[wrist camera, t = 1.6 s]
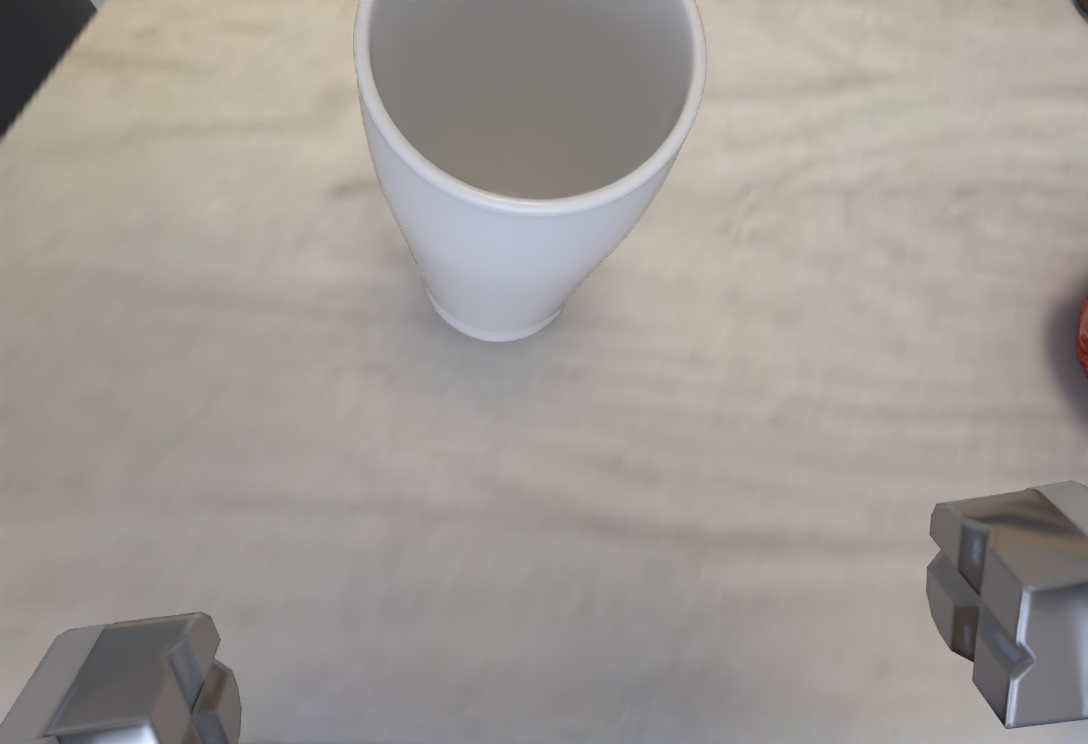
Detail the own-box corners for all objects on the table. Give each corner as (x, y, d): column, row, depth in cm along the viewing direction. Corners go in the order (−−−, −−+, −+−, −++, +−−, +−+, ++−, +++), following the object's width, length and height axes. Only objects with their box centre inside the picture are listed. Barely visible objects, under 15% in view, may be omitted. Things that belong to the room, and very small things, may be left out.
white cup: (511, 145, 32) (559, -184, 17) (631, 288, 31) (786, 78, 16) (360, 254, 30) (270, 2, 16) (482, 405, 30) (506, 292, 15)
